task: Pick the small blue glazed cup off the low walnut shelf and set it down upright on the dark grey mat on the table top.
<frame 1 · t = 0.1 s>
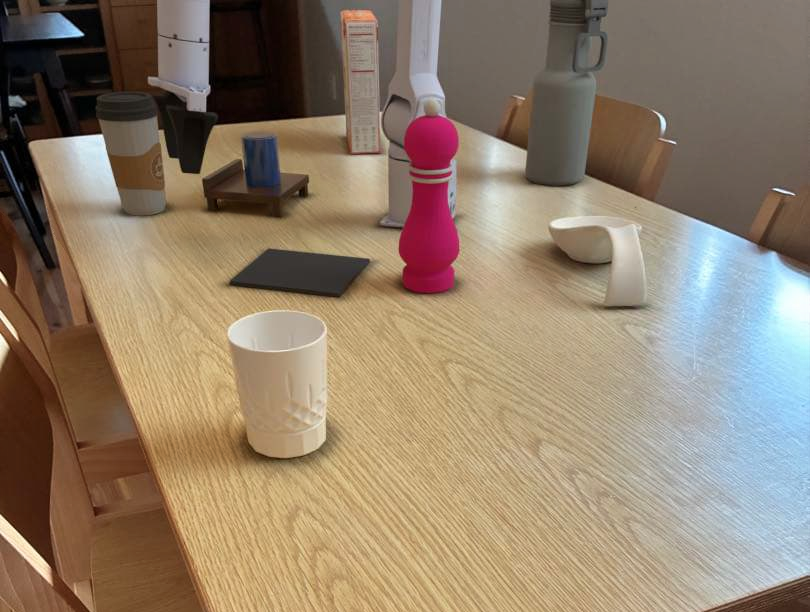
hand: (183, 165, 100), 11 cm above the table, tool pointing down, fingers open, 7 cm apart
water bottle: (554, 180, 135), on the table
spoon rest: (601, 273, 101), on the table
mat: (301, 273, 100), on the table
pepper mill: (428, 285, 98), on the table
shelf: (259, 202, 124), on the table
cracker box: (362, 146, 152), on the table
cup: (263, 182, 121), point 3 cm above the table, touching shelf
white cup: (288, 440, 70), on the table
coffee cup: (145, 210, 121), on the table
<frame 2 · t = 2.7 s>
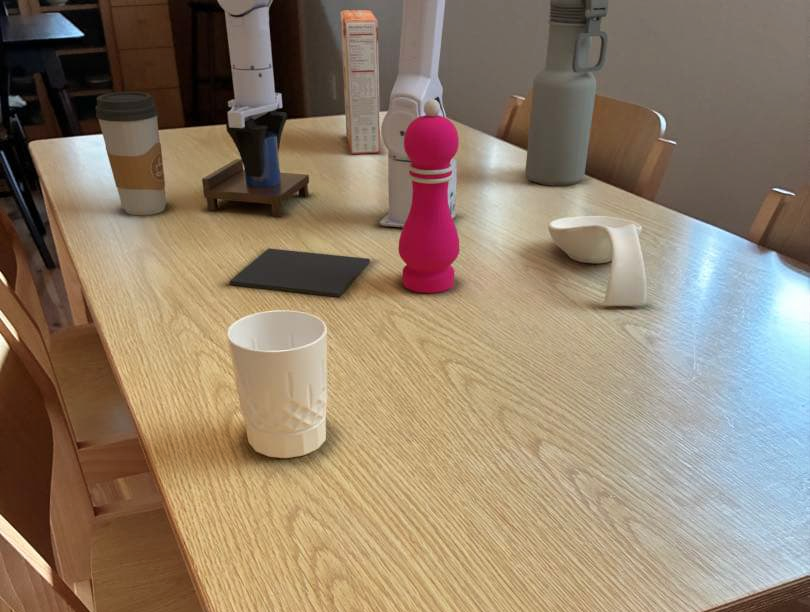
hand: (262, 171, 120), 5 cm above the table, tool pointing down, fingers closed on cup, 5 cm apart
cup: (263, 182, 121), point 3 cm above the table, touching gripper, shelf
everything else where it was.
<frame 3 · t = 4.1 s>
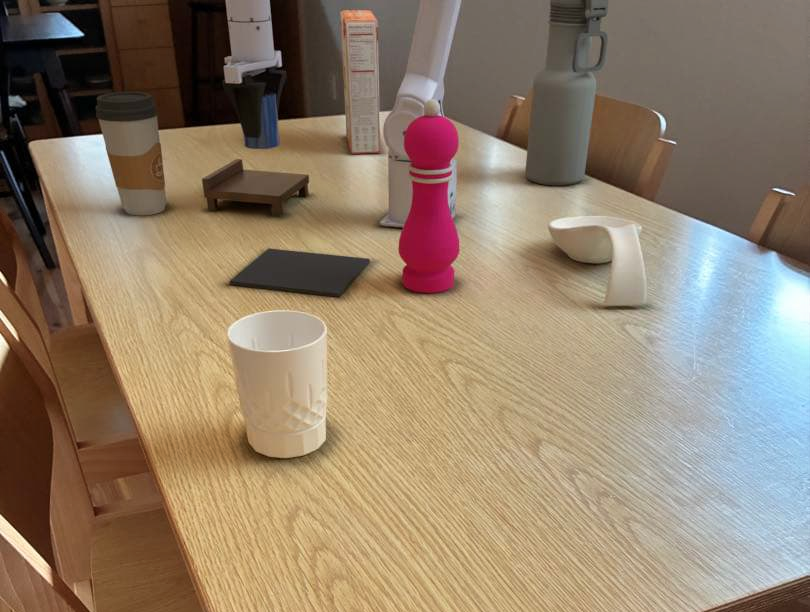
hand: (260, 132, 115), 10 cm above the table, tool pointing down, fingers closed on cup, 5 cm apart
cup: (261, 144, 116), point 9 cm above the table, touching gripper
everything else where it was.
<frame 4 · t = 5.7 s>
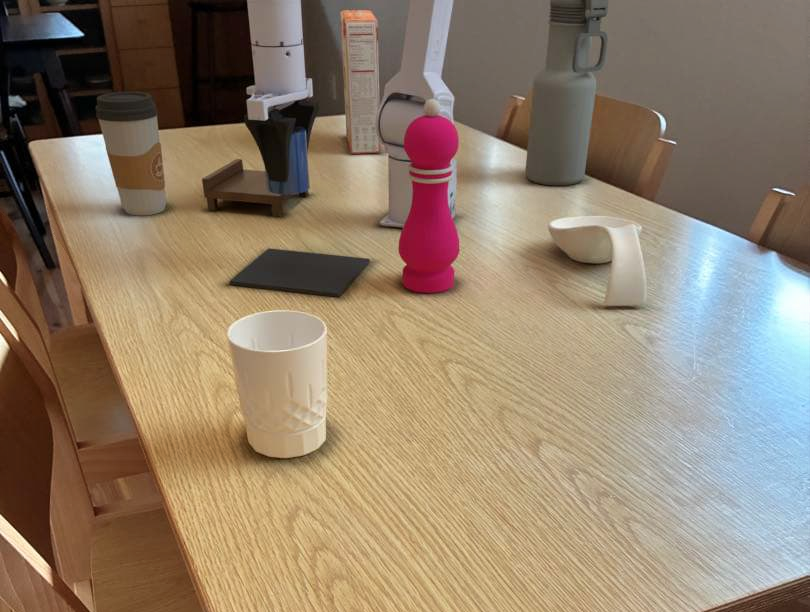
hand: (287, 174, 97), 10 cm above the table, tool pointing down, fingers closed on cup, 5 cm apart
cup: (288, 188, 98), point 9 cm above the table, touching gripper
everything else where it was.
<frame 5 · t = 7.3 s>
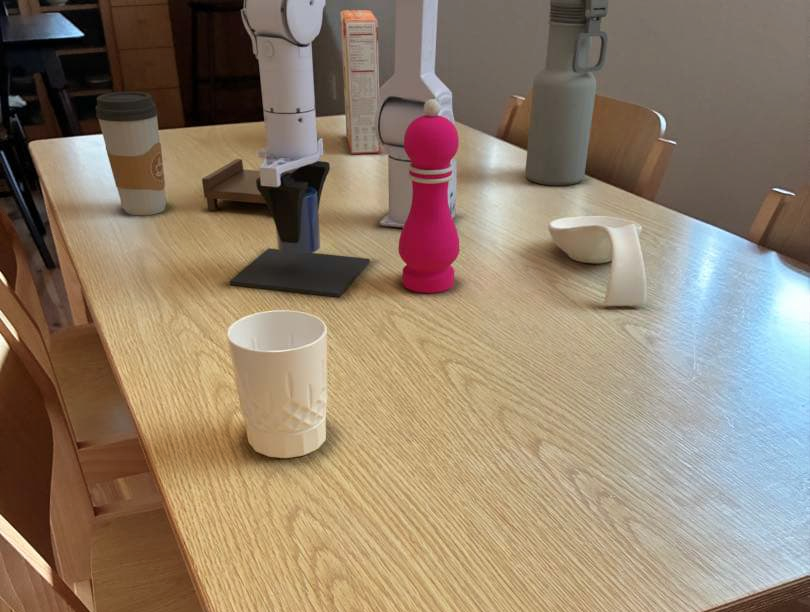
hand: (298, 234, 97), 5 cm above the table, tool pointing down, fingers closed on cup, 5 cm apart
cup: (299, 247, 98), point 3 cm above the table, touching gripper
everything else where it was.
when the fingers open (2 cm above the table, at t = 8.7 s): cup stays where it is, resting on mat.
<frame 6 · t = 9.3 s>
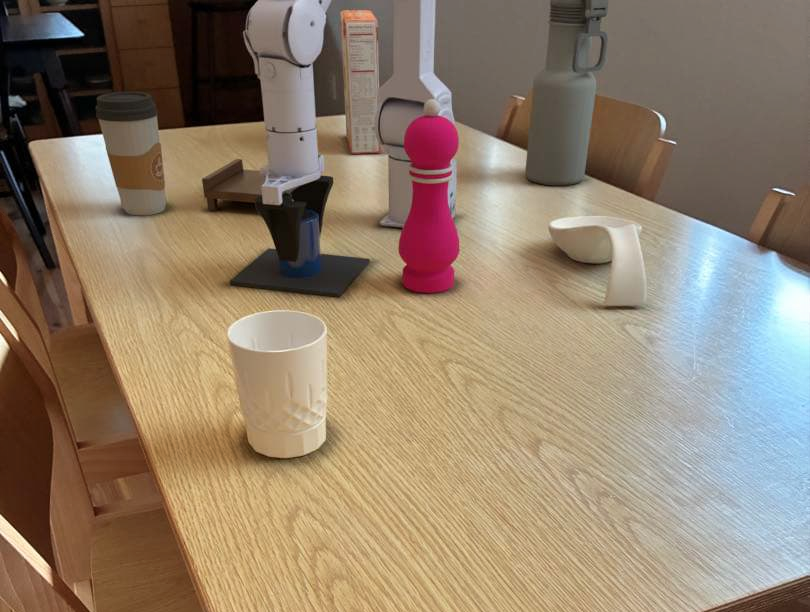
hand: (300, 249, 99), 3 cm above the table, tool pointing down, fingers open, 7 cm apart
cup: (300, 269, 100), resting on mat
everything else where it was.
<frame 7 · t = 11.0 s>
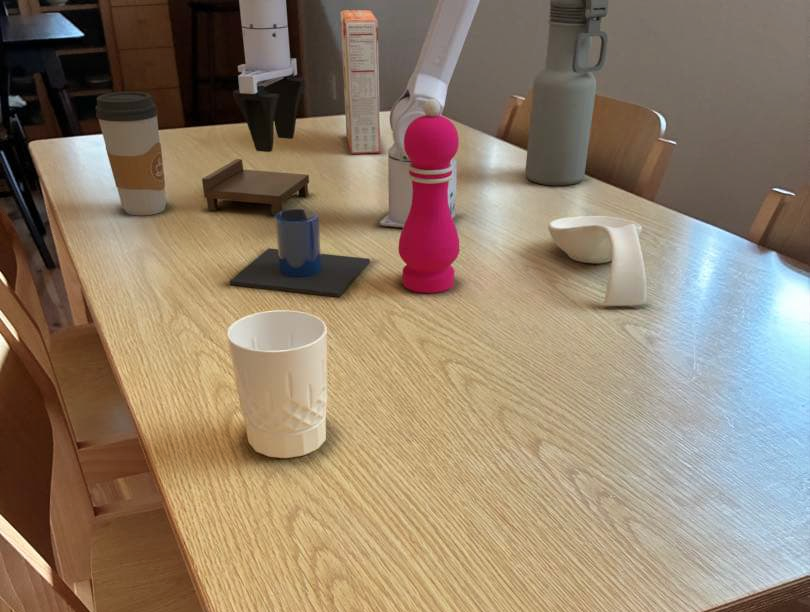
hand: (275, 144, 109), 10 cm above the table, tool pointing down, fingers open, 7 cm apart
nothing on the table moved.
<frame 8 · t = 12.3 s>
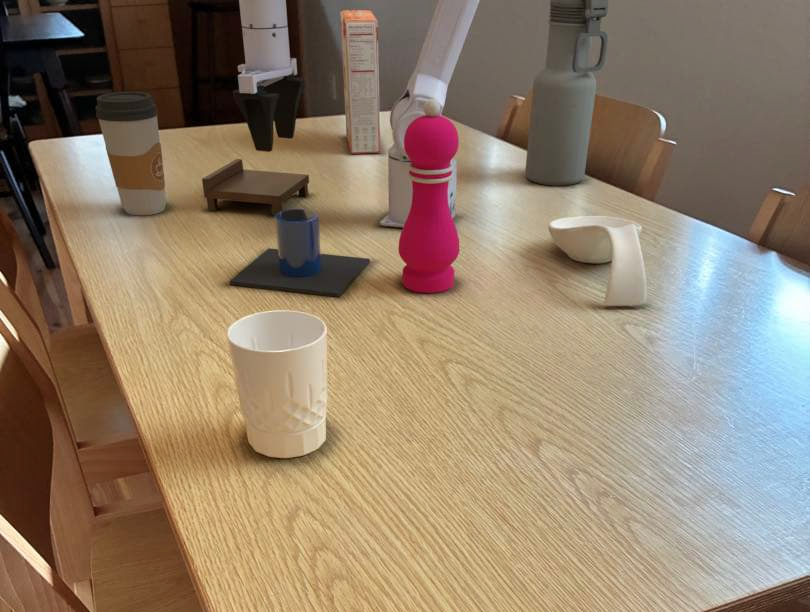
hand: (275, 144, 110), 10 cm above the table, tool pointing down, fingers open, 7 cm apart
nothing on the table moved.
at the end: cup inside the target area on the mat (0.1 cm from its centre), point 0.5 cm above the mat's base; cup tilted 0°; cup touching mat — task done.
